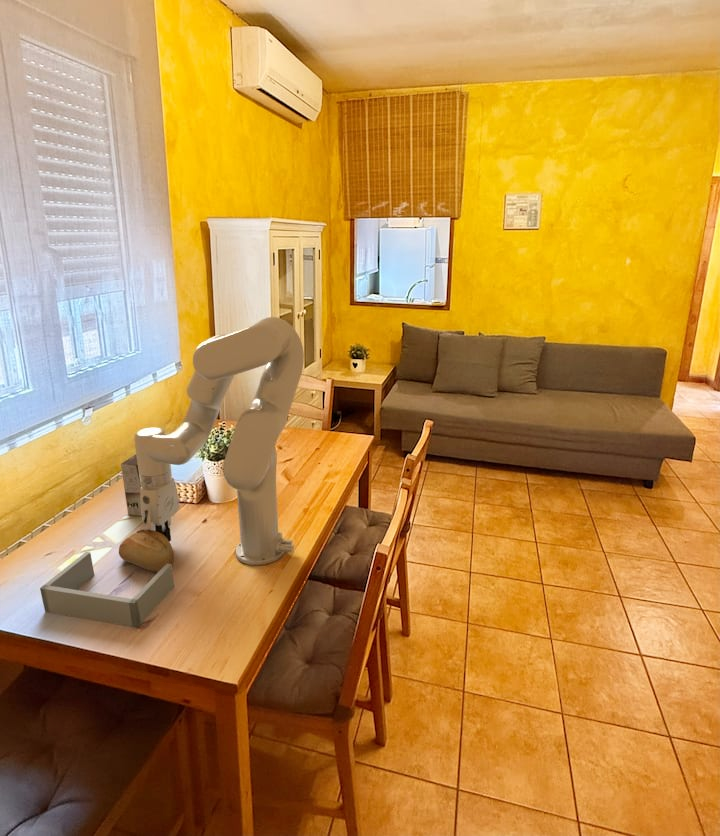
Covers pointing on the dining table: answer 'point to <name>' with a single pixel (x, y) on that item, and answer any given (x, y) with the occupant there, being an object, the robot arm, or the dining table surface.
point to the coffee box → (132, 485)
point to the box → (102, 596)
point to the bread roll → (147, 550)
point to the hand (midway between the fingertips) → (164, 541)
